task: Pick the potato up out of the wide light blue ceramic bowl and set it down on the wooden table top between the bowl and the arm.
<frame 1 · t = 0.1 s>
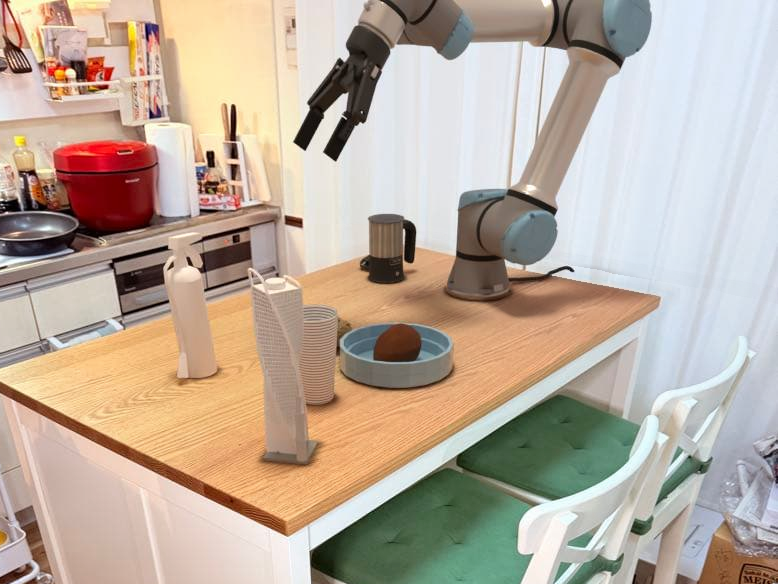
hand: (313, 151, 140), 36 cm above the countertop, tool tilted 35°, fingers open, 13 cm apart
fire extinguisher: (196, 374, 147), on the countertop
cup: (317, 399, 138), on the countertop
bowl: (396, 366, 149), on the countertop
skyscraper: (287, 450, 122), on the countertop
sponge: (306, 344, 160), on the countertop
potato: (396, 365, 149), resting on bowl
milk frother: (380, 275, 200), on the countertop
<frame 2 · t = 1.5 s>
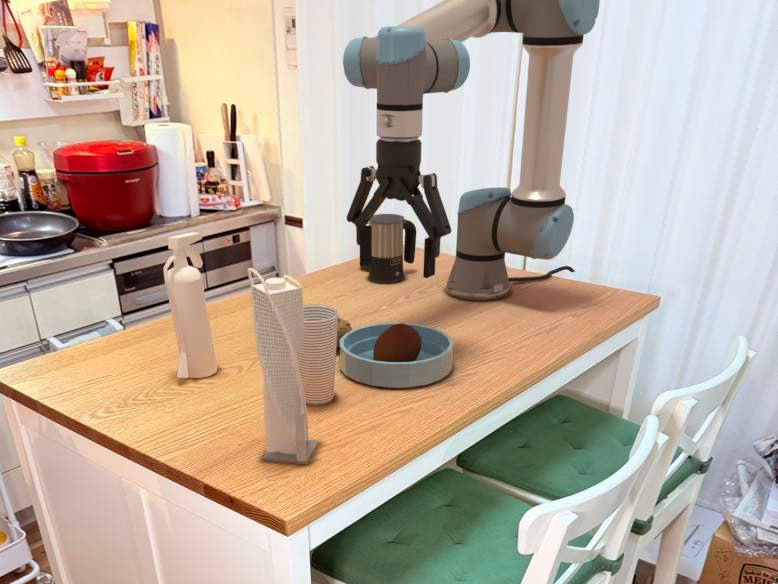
hand: (396, 270, 139), 18 cm above the countertop, tool pointing down, fingers open, 13 cm apart
nothing on the countertop moved.
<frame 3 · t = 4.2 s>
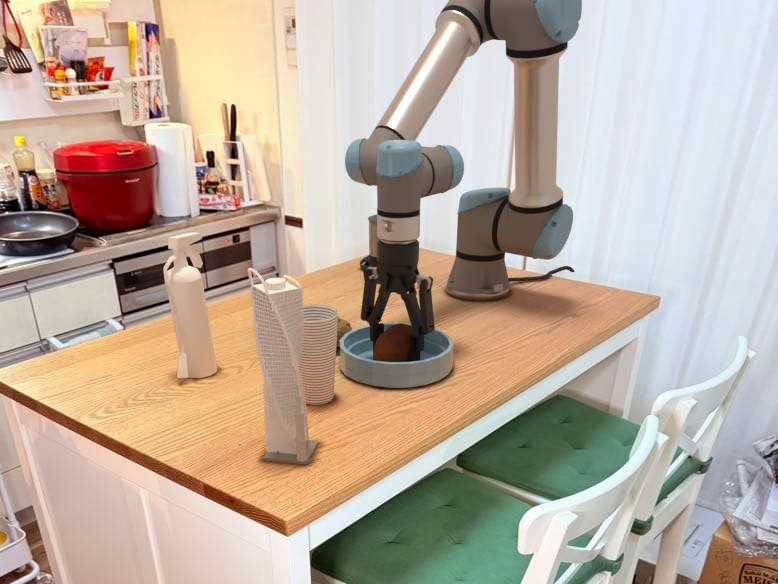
hand: (396, 362, 149), 1 cm above the countertop, tool pointing down, fingers closed on potato, 8 cm apart
potato: (396, 365, 149), resting on bowl, touching gripper
everything else where it was.
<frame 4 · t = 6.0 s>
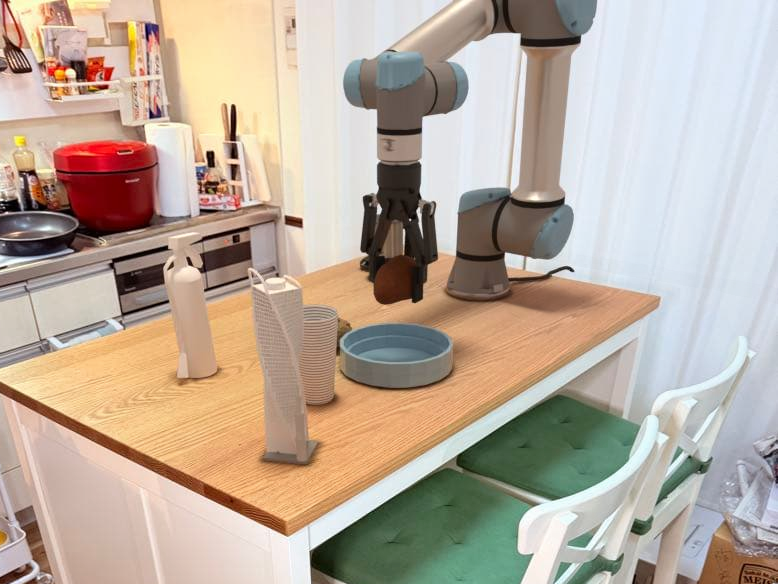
hand: (398, 296, 142), 14 cm above the countertop, tool pointing down, fingers closed on potato, 8 cm apart
potato: (397, 301, 142), point 13 cm above the countertop, touching gripper
everything else where it was.
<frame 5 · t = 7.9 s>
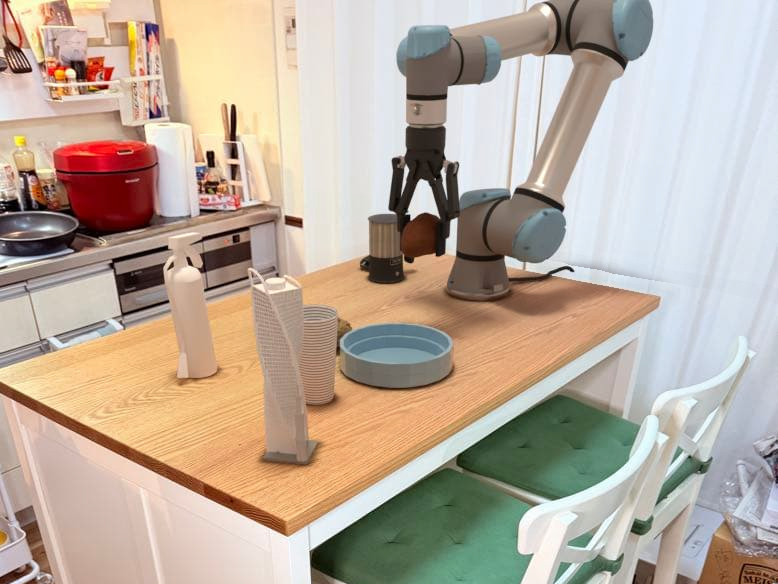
hand: (422, 252, 156), 17 cm above the countertop, tool pointing down, fingers closed on potato, 8 cm apart
potato: (422, 255, 156), point 16 cm above the countertop, touching gripper
everything else where it was.
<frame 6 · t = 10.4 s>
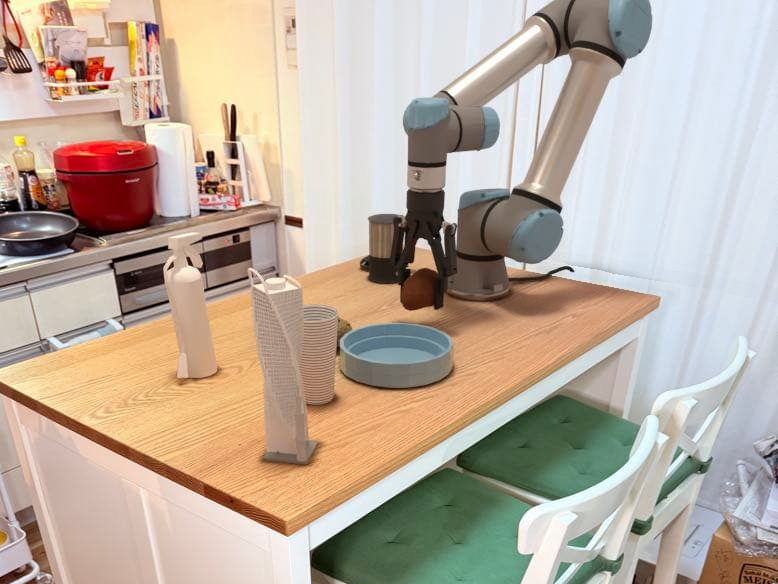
hand: (421, 304, 164), 5 cm above the countertop, tool pointing down, fingers closed on potato, 8 cm apart
potato: (421, 307, 164), point 5 cm above the countertop, touching gripper
everything else where it was.
when the fingers open (0 cm above the countertop, at t = 12.0 s): potato stays where it is, on the countertop.
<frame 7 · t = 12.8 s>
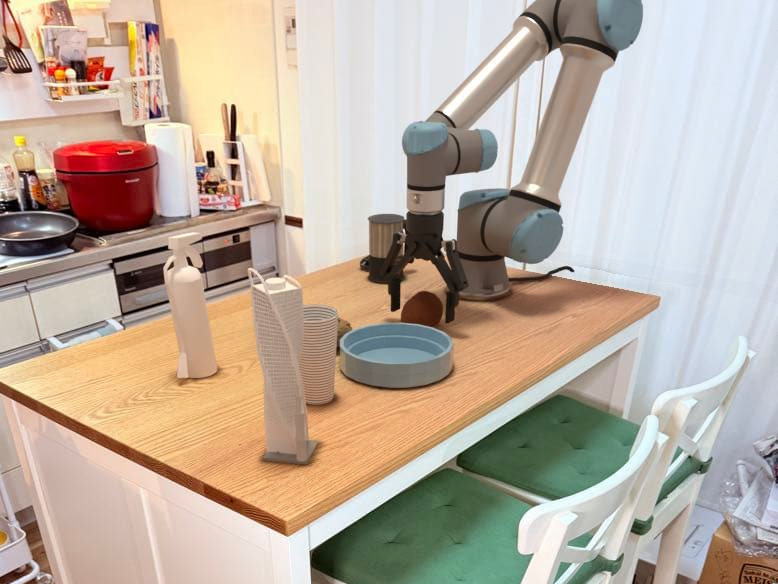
hand: (422, 316, 165), 3 cm above the countertop, tool pointing down, fingers open, 13 cm apart
potato: (420, 329, 167), on the countertop
everything else where it was.
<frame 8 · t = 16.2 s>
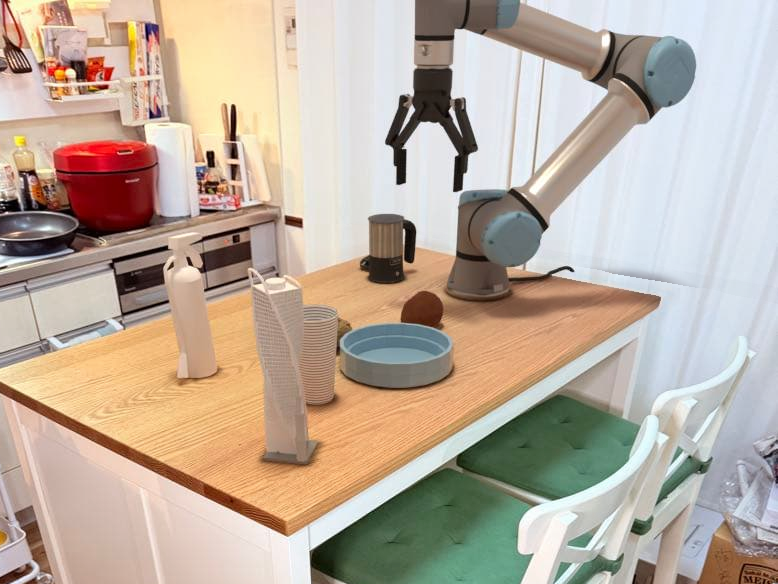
hand: (428, 187, 159), 27 cm above the countertop, tool pointing down, fingers open, 13 cm apart
nothing on the countertop moved.
at the end: potato inside the target area (0.1 cm from its centre), on the countertop; potato touching countertop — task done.
